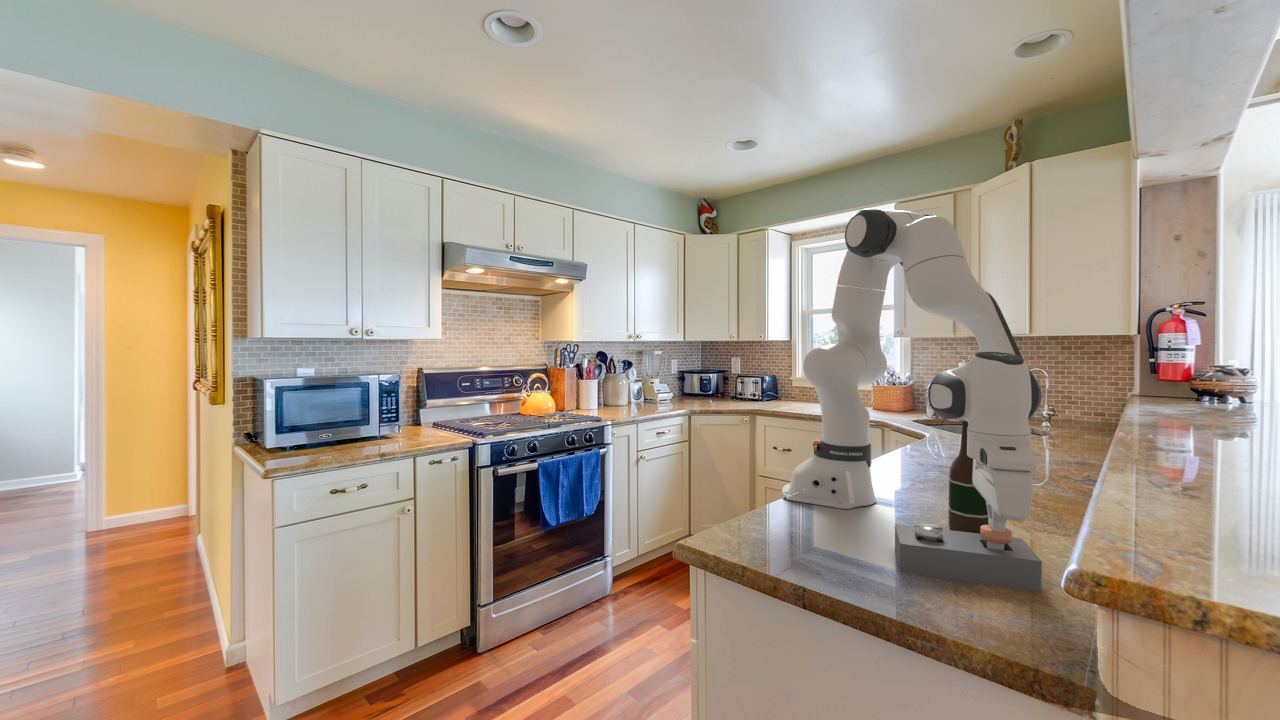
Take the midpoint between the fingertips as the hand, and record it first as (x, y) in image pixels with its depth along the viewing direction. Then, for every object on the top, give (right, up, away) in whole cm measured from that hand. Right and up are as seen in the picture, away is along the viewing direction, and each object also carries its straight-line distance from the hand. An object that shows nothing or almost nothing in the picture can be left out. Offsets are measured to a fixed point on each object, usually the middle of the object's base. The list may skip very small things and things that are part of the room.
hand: (996, 529), depth 88 cm
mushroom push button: (0, -6, 0) cm, 6 cm away
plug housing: (-5, -8, +2) cm, 9 cm away
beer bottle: (+7, -7, +19) cm, 22 cm away
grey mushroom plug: (-9, -7, +4) cm, 12 cm away
